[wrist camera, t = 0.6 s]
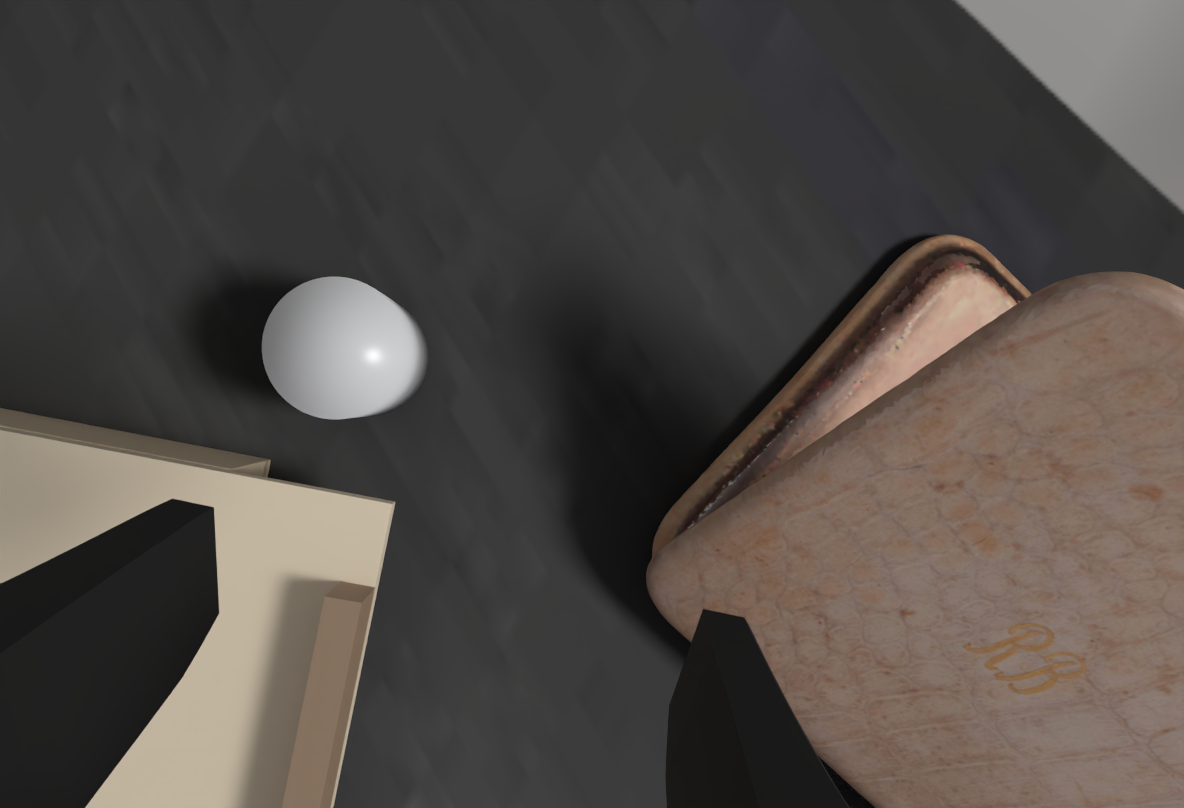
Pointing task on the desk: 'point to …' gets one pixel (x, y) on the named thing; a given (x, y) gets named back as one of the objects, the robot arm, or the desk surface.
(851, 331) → the case
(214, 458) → the storage box
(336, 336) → the bullet shaped knob
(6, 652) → the robot arm
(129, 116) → the desk surface
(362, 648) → the box lid
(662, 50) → the desk surface
